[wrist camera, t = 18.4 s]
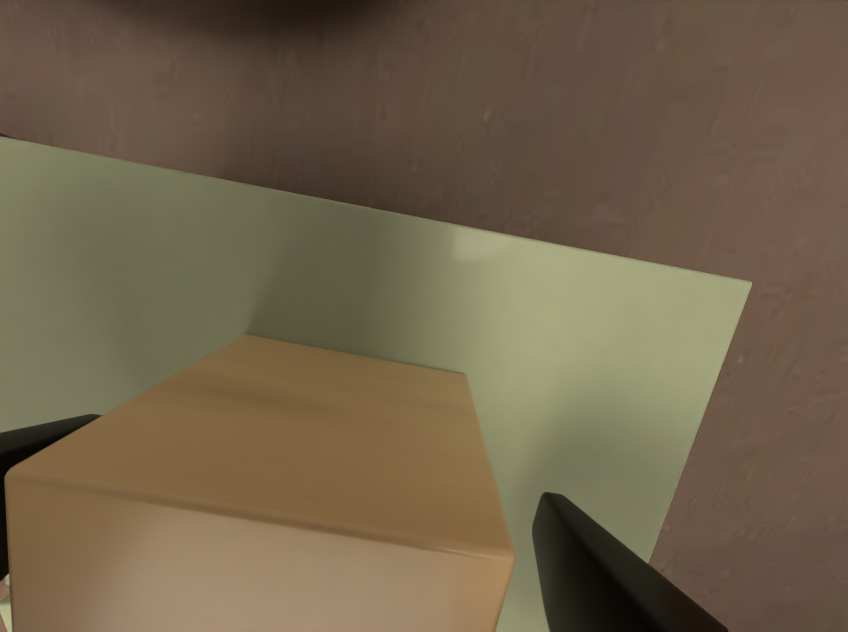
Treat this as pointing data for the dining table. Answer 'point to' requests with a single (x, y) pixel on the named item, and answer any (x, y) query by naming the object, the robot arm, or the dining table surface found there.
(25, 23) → the dining table surface
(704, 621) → the robot arm
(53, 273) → the cabinet
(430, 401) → the block
